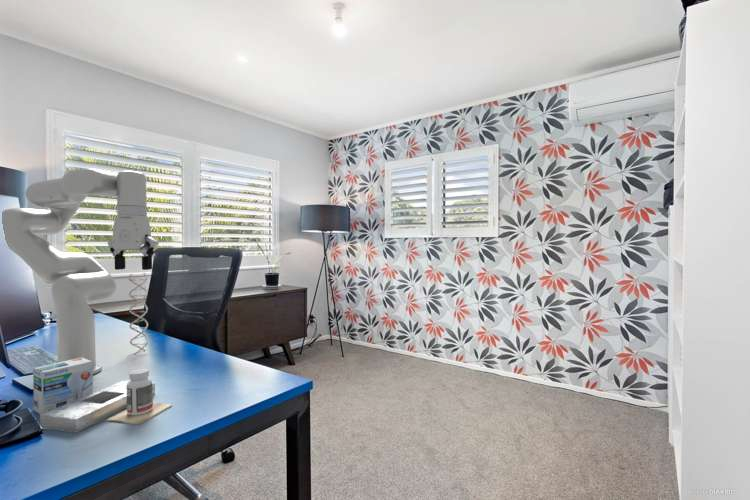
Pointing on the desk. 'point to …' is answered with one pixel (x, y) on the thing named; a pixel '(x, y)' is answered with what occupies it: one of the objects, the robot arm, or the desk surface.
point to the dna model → (140, 311)
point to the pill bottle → (139, 393)
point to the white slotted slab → (87, 409)
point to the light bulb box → (61, 383)
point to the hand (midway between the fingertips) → (133, 269)
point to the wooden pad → (139, 419)
